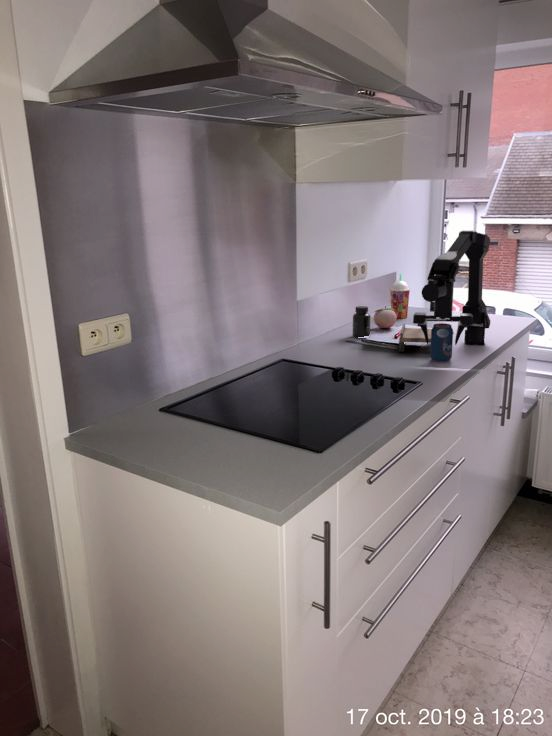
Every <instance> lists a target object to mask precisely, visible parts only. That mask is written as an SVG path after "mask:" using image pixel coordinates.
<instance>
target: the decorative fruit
mask: <svg viewBox="0 0 552 736" xmlns="http://www.w3.org/2000/svg"><path fill="white" fill-rule="evenodd" d="M393 310H394V309H392V308H391V307H388V308H387V306H386V305H385V307H384V308H377V309H375V311H374V312H373V313H374V315H373V321H374V323H375V324H374V325H376V326H377V327H378V328H379V329H381V328H388V329H390V328H392V327H394V325H395V324H396V322H397V319H396V318H397V316H396V314H395V312H394V311H395V310H394V311H393Z"/></svg>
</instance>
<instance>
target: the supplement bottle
mask: <svg viewBox="0 0 552 736" xmlns="http://www.w3.org/2000/svg"><path fill="white" fill-rule="evenodd" d="M369 335H370V336H371V315H370V314H369V307H368V306H365V305H358V306H355V313H353V315H352V337H353V338H354V339H357V338H358V337H364V336H369Z"/></svg>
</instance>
